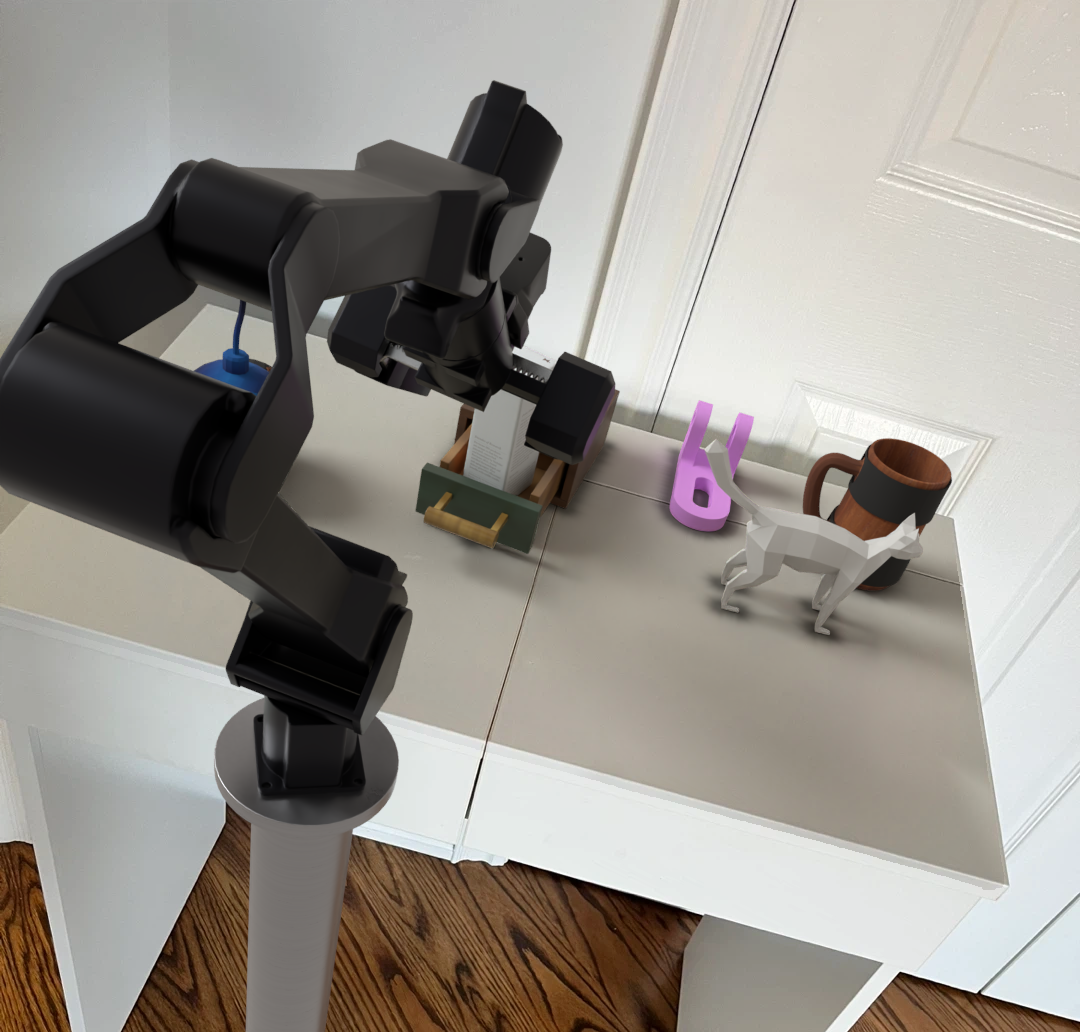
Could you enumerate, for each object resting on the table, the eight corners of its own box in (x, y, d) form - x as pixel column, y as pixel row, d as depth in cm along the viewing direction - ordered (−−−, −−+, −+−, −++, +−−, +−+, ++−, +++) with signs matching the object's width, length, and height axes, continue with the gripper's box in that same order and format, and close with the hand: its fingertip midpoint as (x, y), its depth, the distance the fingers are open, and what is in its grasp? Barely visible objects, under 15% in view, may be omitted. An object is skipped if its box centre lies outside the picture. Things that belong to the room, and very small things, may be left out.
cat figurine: (875, 650, 88) (955, 516, 79) (655, 593, 87) (709, 450, 77) (869, 618, 92) (946, 486, 82) (657, 563, 90) (709, 422, 81)
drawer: (511, 581, 82) (522, 538, 79) (394, 536, 83) (400, 492, 80) (569, 486, 94) (580, 446, 92) (466, 448, 95) (474, 406, 92)
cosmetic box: (492, 465, 92) (518, 340, 84) (532, 485, 91) (562, 361, 83) (457, 492, 88) (480, 363, 79) (498, 513, 87) (527, 385, 79)
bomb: (310, 452, 91) (321, 288, 80) (275, 519, 83) (282, 346, 73) (201, 426, 90) (198, 256, 80) (156, 490, 82) (145, 311, 72)
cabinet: (565, 509, 93) (582, 451, 89) (449, 465, 94) (460, 406, 90) (604, 445, 103) (620, 390, 99) (498, 406, 104) (510, 350, 100)
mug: (782, 517, 101) (830, 411, 93) (897, 556, 100) (956, 453, 92) (774, 563, 94) (825, 454, 86) (897, 605, 94) (960, 500, 86)
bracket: (678, 455, 105) (700, 393, 100) (730, 470, 105) (754, 410, 100) (666, 520, 96) (689, 456, 91) (723, 537, 96) (749, 474, 91)
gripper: (657, 253, 60) (643, 366, 75) (373, 135, 61) (417, 270, 76) (578, 422, 59) (580, 500, 75) (294, 299, 60) (354, 401, 76)
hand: (483, 413), depth 75 cm, fingers open, 9 cm apart
